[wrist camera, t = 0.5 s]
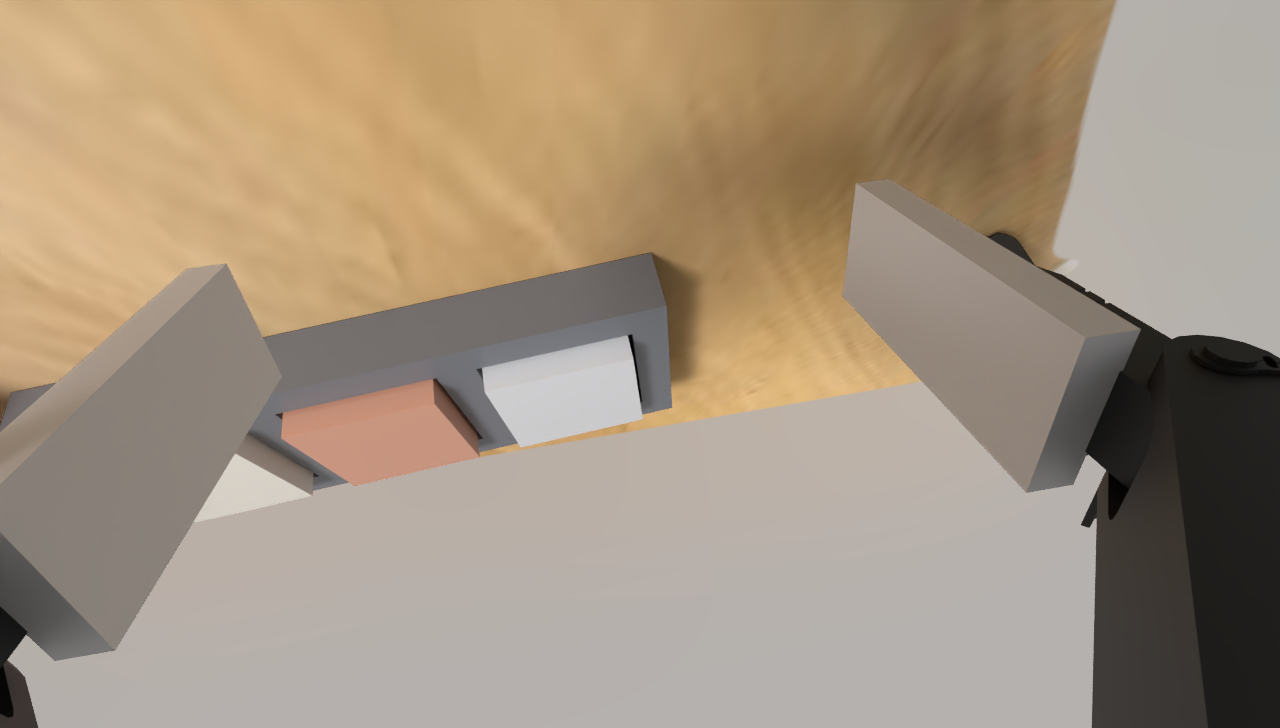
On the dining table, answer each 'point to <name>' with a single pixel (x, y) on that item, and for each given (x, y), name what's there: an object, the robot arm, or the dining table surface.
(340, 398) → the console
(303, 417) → the key terracotta
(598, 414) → the key grey
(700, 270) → the dining table surface
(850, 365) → the dining table surface
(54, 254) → the dining table surface
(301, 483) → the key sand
